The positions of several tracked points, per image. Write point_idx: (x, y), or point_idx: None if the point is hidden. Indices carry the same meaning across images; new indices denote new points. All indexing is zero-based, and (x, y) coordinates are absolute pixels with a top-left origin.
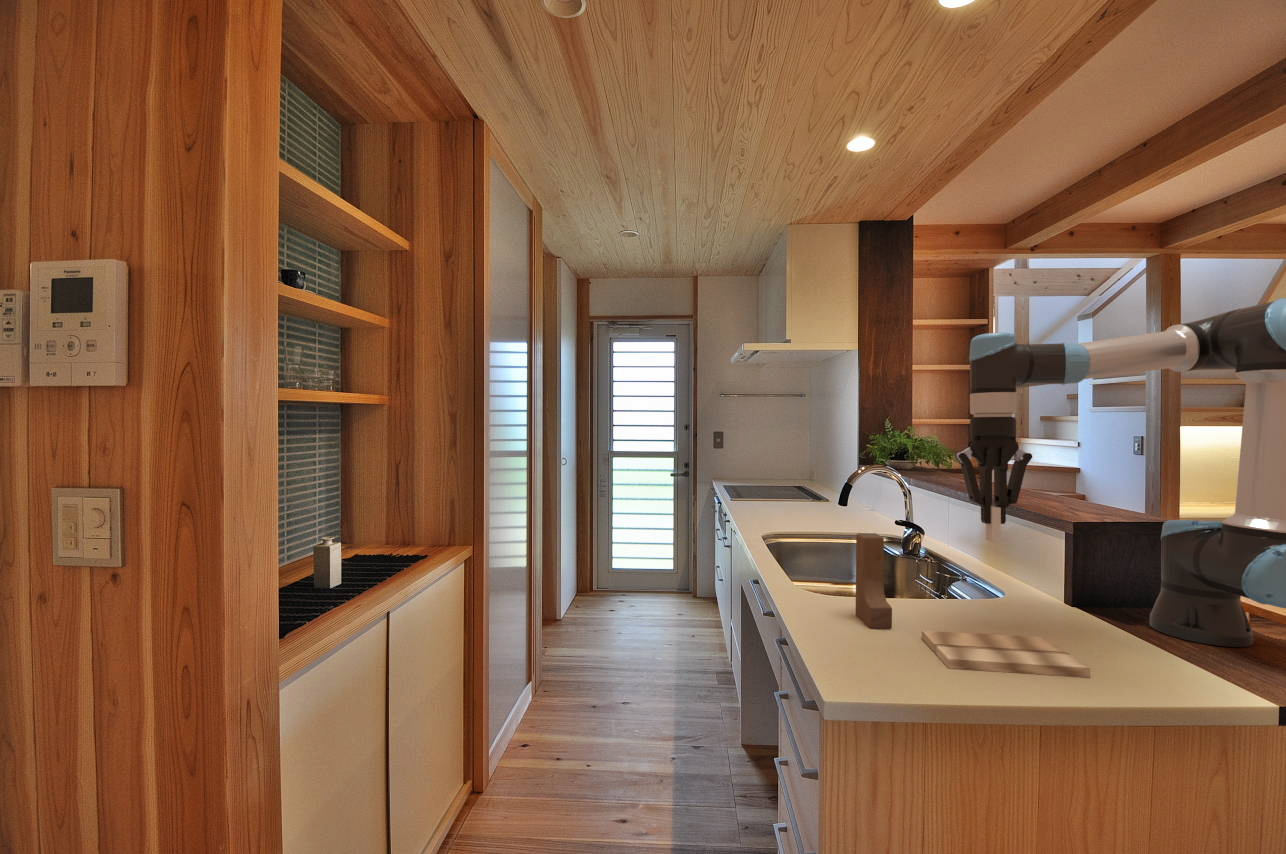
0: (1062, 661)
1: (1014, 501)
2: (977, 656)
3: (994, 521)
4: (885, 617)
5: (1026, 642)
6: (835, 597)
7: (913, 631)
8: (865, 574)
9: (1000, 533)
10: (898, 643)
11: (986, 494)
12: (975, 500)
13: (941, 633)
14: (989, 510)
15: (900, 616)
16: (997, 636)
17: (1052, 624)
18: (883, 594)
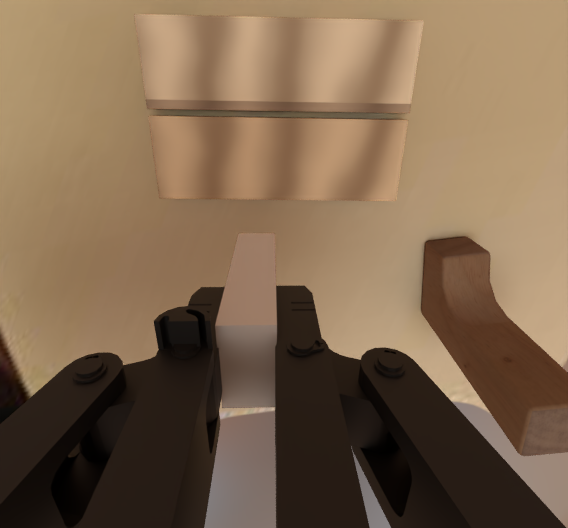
0: (178, 48)
1: (90, 359)
2: (351, 49)
3: (263, 275)
4: (449, 247)
5: (207, 161)
6: (450, 392)
7: (387, 236)
8: (516, 328)
9: (236, 249)
10: (450, 162)
11: (331, 407)
12: (412, 363)
13: (362, 188)
14: (284, 329)
15: (374, 313)
16: (253, 188)
17: (106, 313)
18: (451, 301)
